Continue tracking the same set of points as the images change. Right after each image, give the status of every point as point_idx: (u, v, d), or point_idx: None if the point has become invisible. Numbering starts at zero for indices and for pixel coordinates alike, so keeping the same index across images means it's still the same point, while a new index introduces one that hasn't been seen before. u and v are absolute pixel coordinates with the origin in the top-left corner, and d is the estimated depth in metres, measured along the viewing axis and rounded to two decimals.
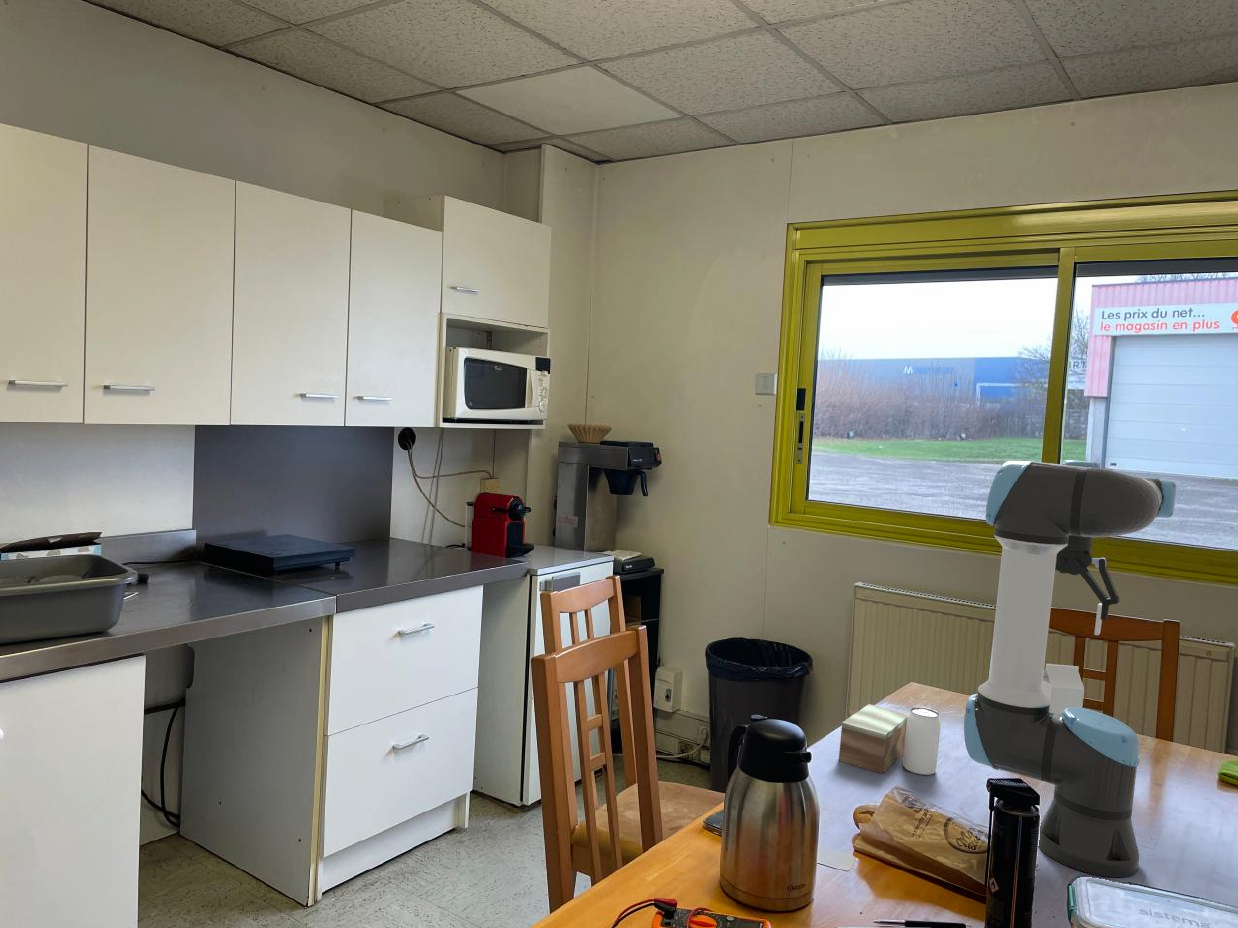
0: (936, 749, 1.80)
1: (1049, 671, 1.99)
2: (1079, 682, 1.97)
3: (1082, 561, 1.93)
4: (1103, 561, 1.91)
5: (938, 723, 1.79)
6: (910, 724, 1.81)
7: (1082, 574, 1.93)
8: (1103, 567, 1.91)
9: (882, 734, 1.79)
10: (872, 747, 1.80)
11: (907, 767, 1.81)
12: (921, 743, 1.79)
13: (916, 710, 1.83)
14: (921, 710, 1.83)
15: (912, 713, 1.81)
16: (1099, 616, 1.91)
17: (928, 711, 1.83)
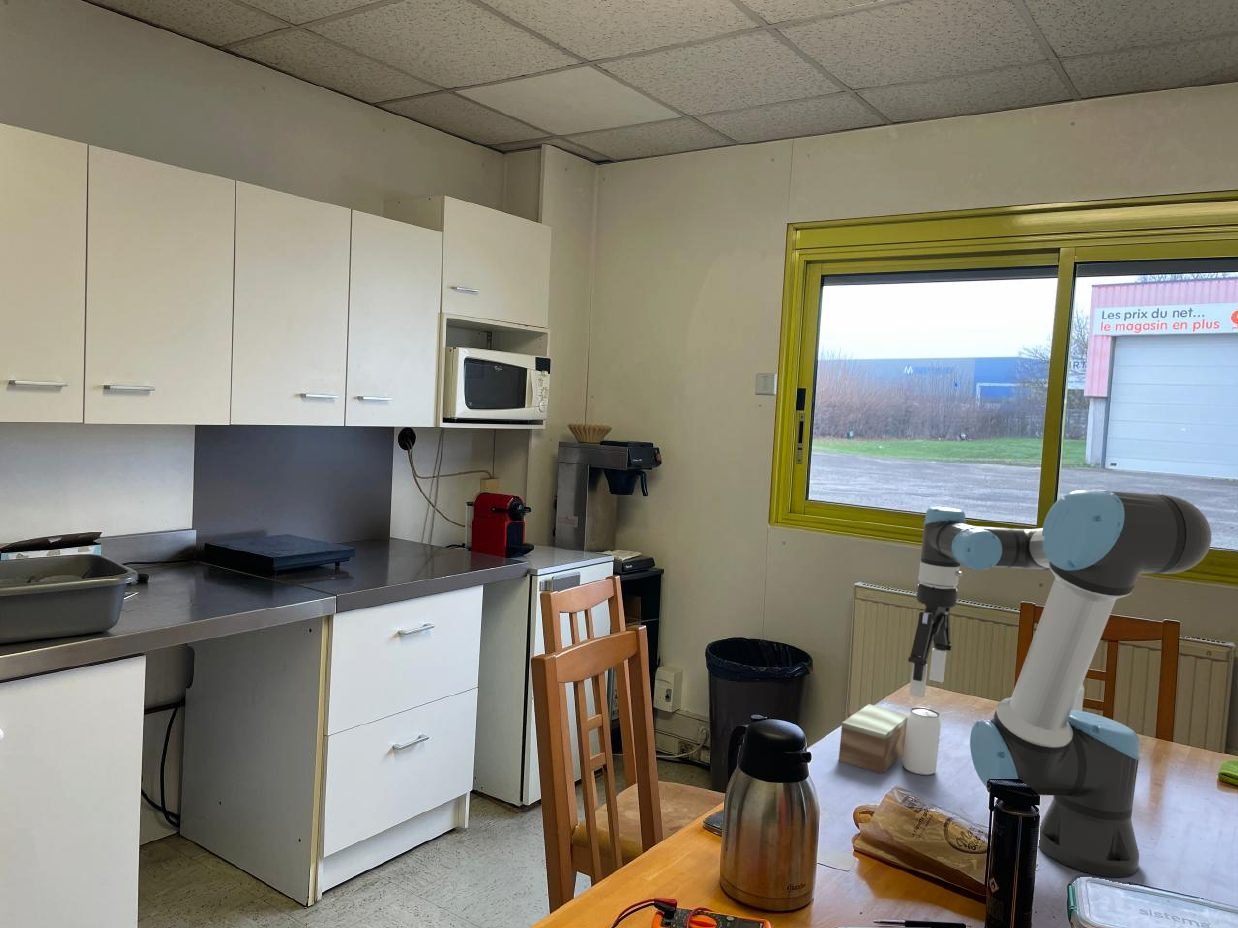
0: (936, 749, 1.80)
1: None
2: None
3: None
4: (919, 614, 1.76)
5: (938, 723, 1.79)
6: (910, 724, 1.81)
7: None
8: None
9: (882, 734, 1.79)
10: (872, 747, 1.80)
11: (907, 767, 1.81)
12: (921, 743, 1.79)
13: (916, 710, 1.83)
14: (921, 710, 1.83)
15: (912, 713, 1.81)
16: None
17: (928, 711, 1.83)
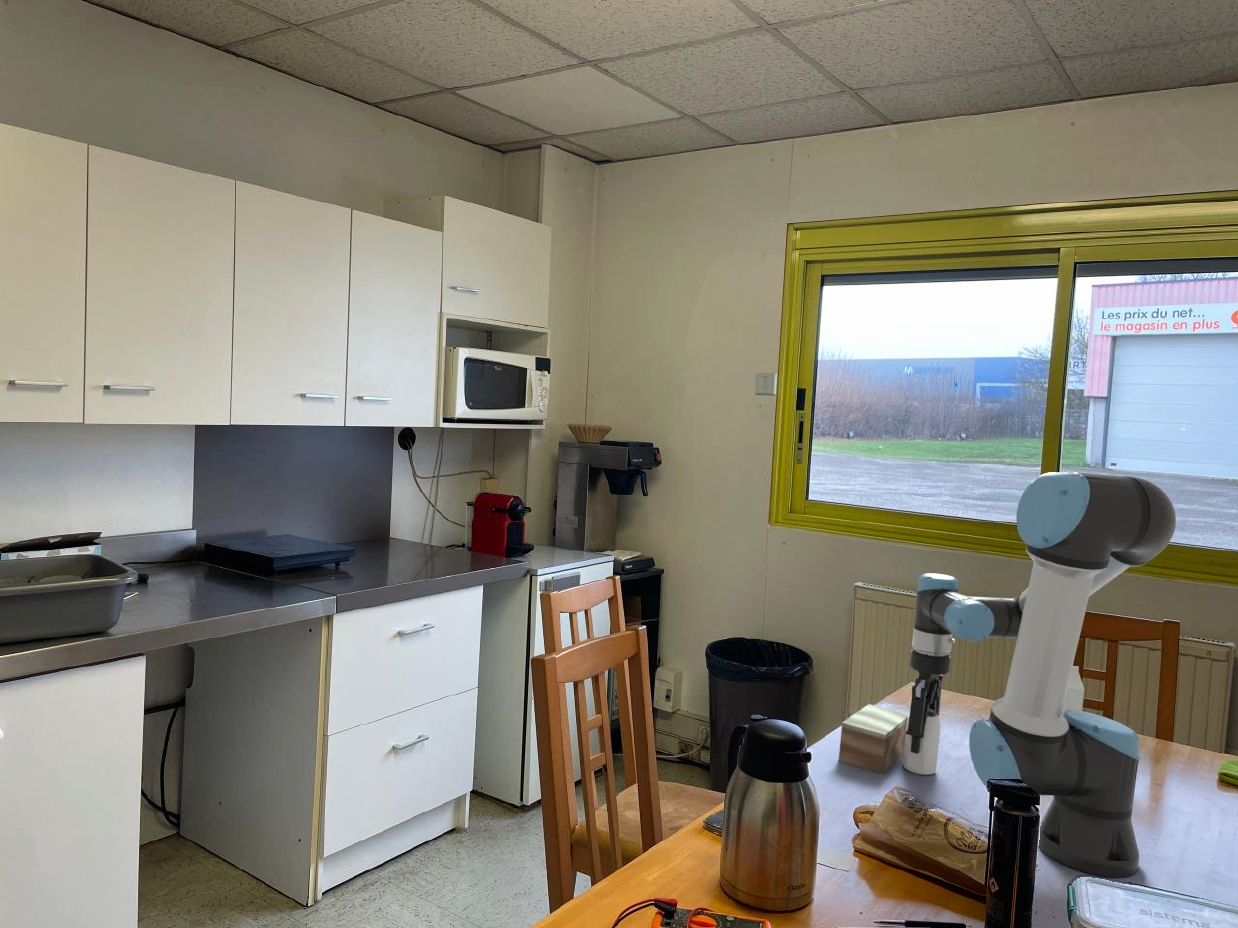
0: (936, 749, 1.80)
1: None
2: (1079, 682, 1.97)
3: None
4: (912, 688, 1.77)
5: (938, 723, 1.79)
6: None
7: None
8: None
9: (882, 734, 1.79)
10: (872, 747, 1.80)
11: (907, 767, 1.81)
12: None
13: None
14: None
15: None
16: (909, 745, 1.80)
17: (928, 711, 1.83)
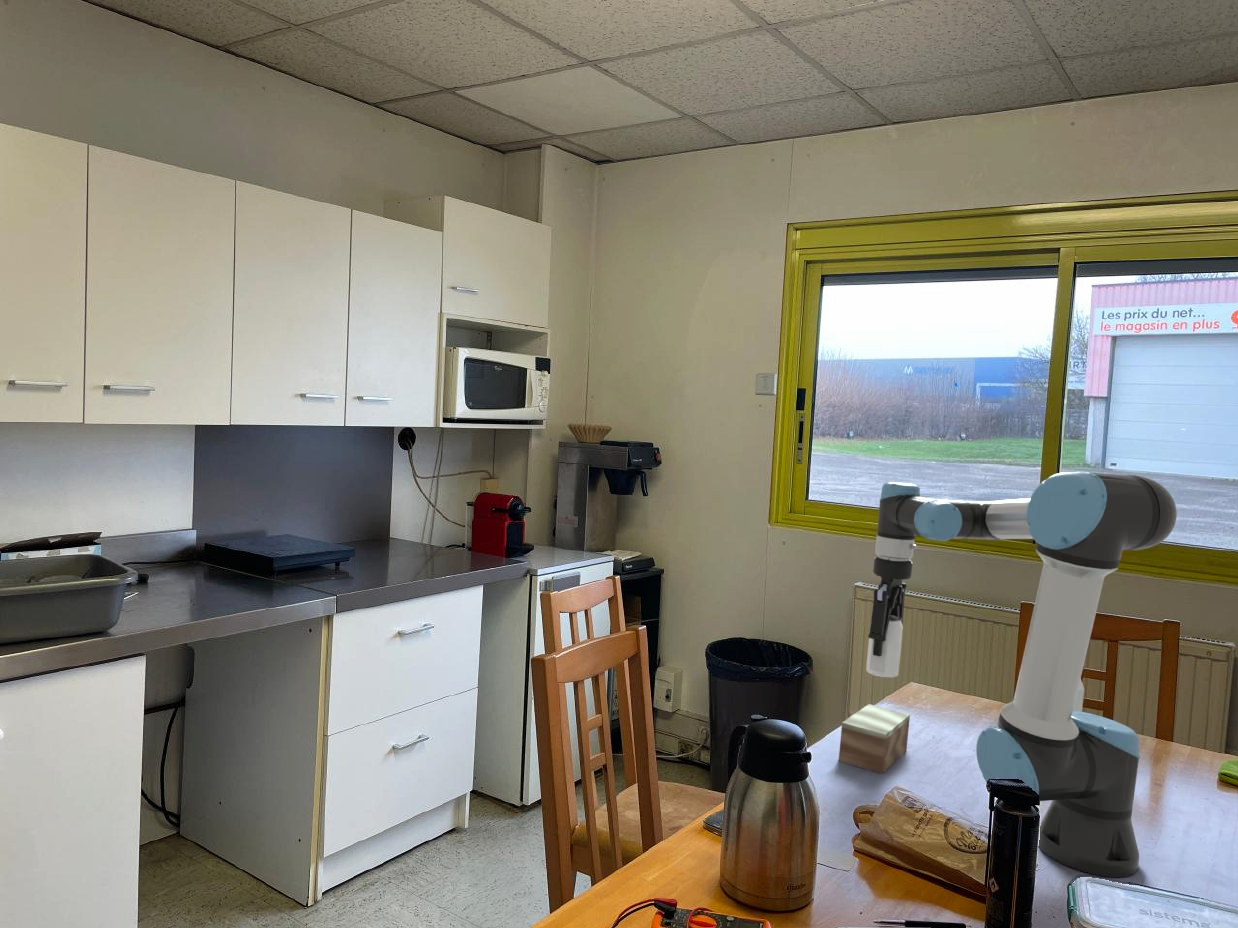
0: (898, 653, 1.84)
1: None
2: None
3: None
4: (874, 592, 1.81)
5: (900, 627, 1.84)
6: None
7: None
8: None
9: (882, 734, 1.79)
10: (872, 747, 1.80)
11: (870, 671, 1.85)
12: None
13: None
14: None
15: None
16: None
17: (891, 617, 1.87)
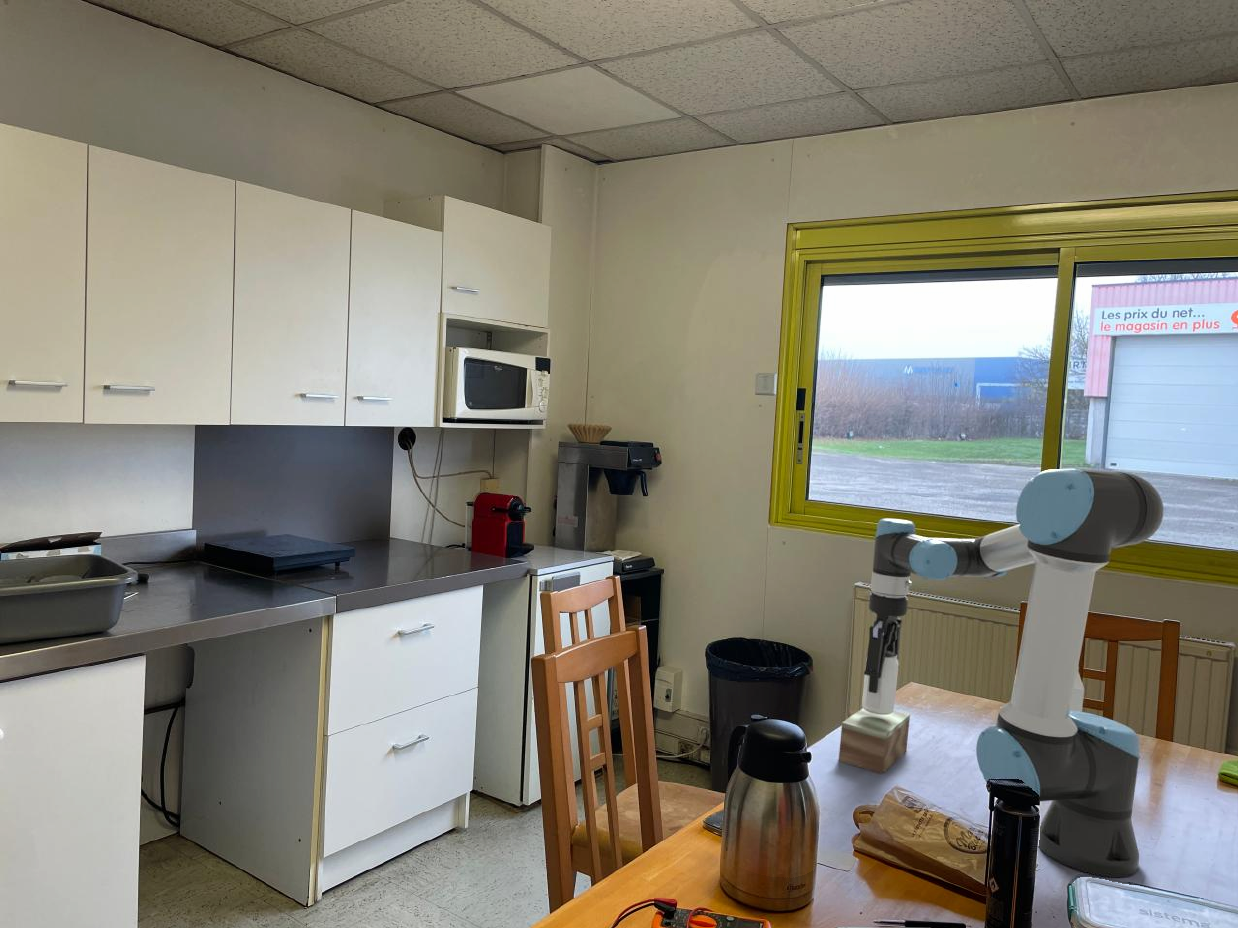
0: (894, 689, 1.84)
1: None
2: (1079, 682, 1.97)
3: None
4: (869, 629, 1.81)
5: (895, 664, 1.84)
6: None
7: None
8: None
9: (882, 734, 1.79)
10: (872, 747, 1.80)
11: (866, 707, 1.86)
12: None
13: None
14: None
15: None
16: (867, 686, 1.84)
17: (887, 653, 1.88)
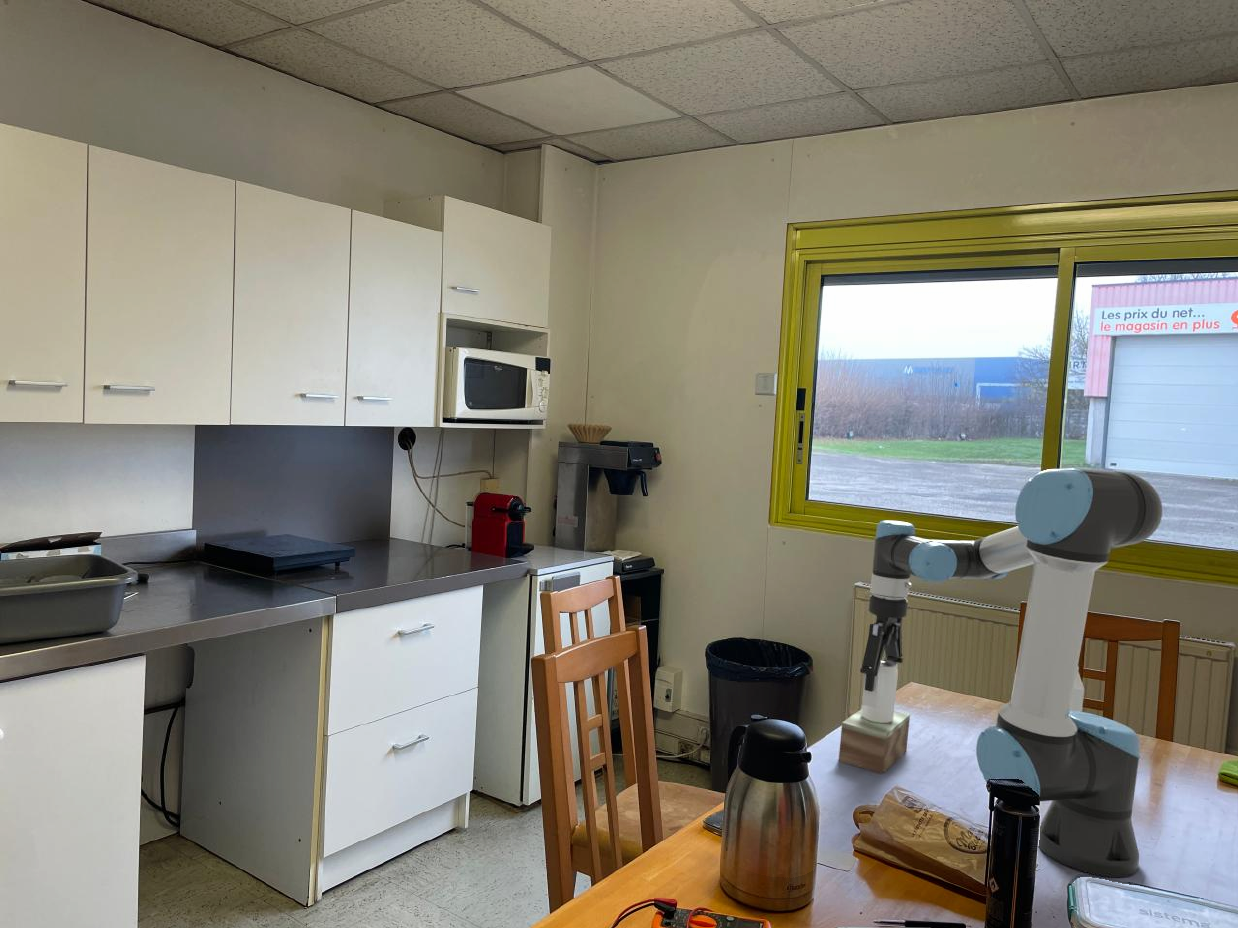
0: (893, 698, 1.84)
1: None
2: (1079, 682, 1.97)
3: None
4: None
5: (895, 673, 1.84)
6: None
7: None
8: None
9: (882, 734, 1.79)
10: (872, 747, 1.80)
11: (865, 716, 1.86)
12: (878, 692, 1.84)
13: None
14: None
15: None
16: None
17: (886, 662, 1.88)
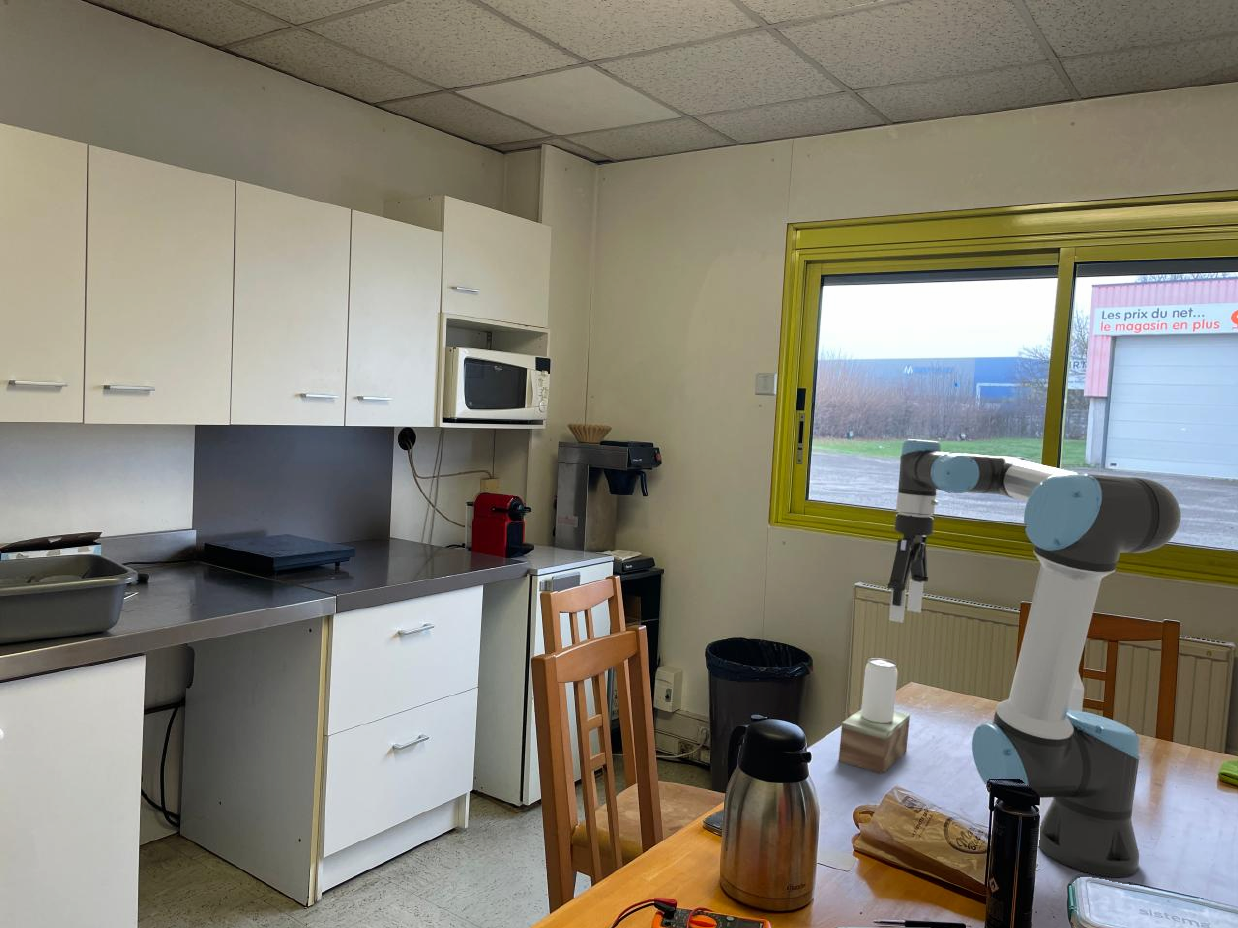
0: (893, 698, 1.84)
1: None
2: (1079, 682, 1.97)
3: None
4: (897, 542, 1.81)
5: (895, 673, 1.84)
6: (868, 674, 1.85)
7: None
8: None
9: (882, 734, 1.79)
10: (872, 747, 1.80)
11: (865, 716, 1.86)
12: (878, 692, 1.84)
13: (874, 661, 1.88)
14: (879, 661, 1.88)
15: (870, 663, 1.86)
16: None
17: (886, 662, 1.88)
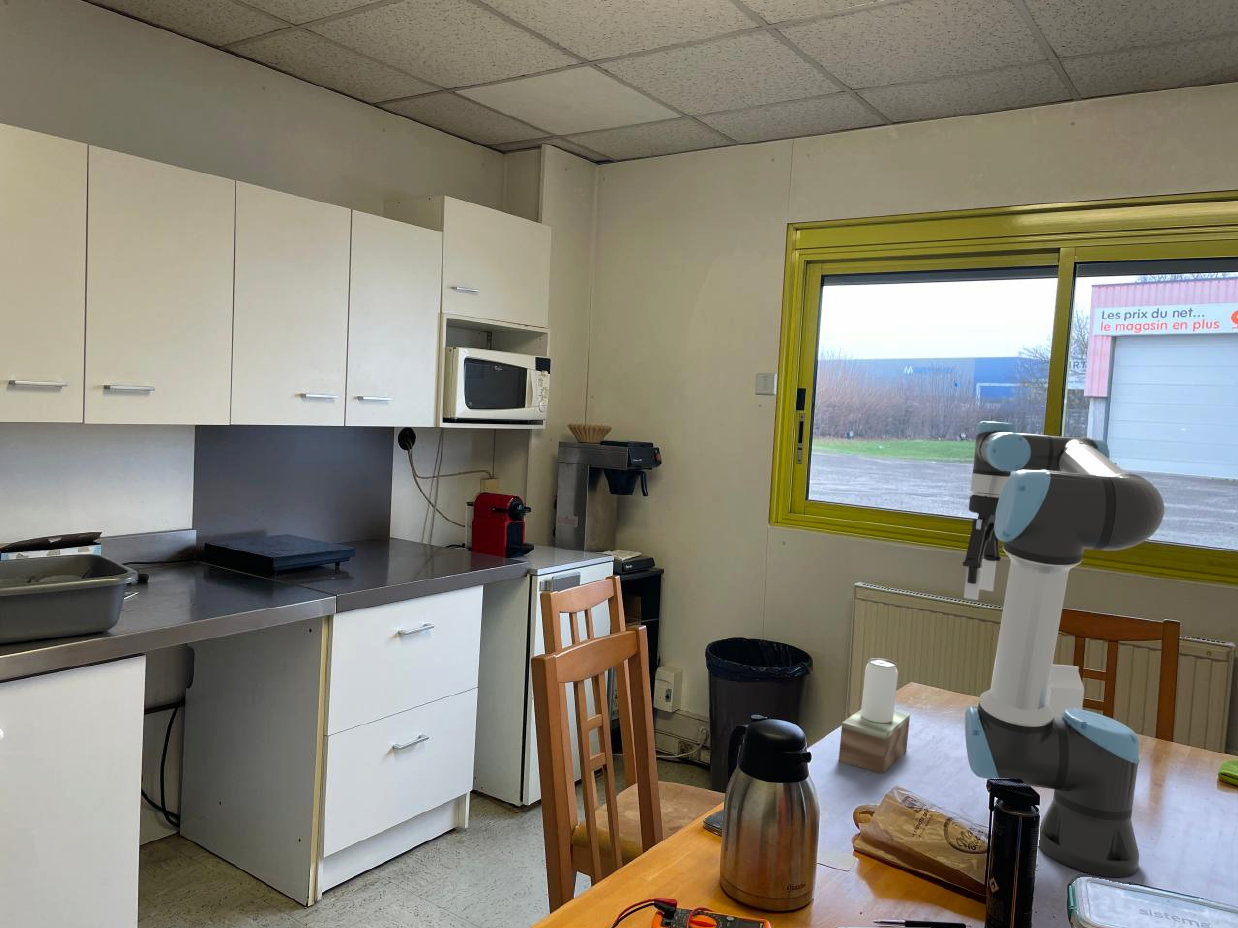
0: (893, 698, 1.84)
1: None
2: (1079, 682, 1.97)
3: None
4: (973, 521, 1.85)
5: (895, 673, 1.84)
6: (868, 674, 1.85)
7: None
8: (972, 527, 1.85)
9: (882, 734, 1.79)
10: (872, 747, 1.80)
11: (865, 716, 1.86)
12: (878, 692, 1.84)
13: (874, 661, 1.88)
14: (879, 661, 1.88)
15: (870, 663, 1.86)
16: None
17: (886, 662, 1.88)
